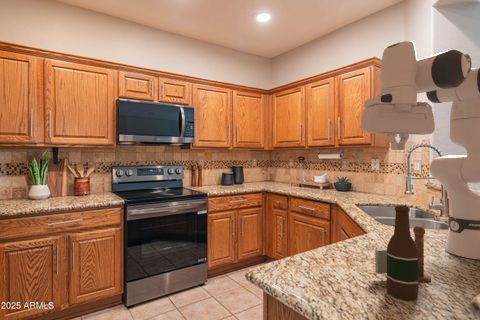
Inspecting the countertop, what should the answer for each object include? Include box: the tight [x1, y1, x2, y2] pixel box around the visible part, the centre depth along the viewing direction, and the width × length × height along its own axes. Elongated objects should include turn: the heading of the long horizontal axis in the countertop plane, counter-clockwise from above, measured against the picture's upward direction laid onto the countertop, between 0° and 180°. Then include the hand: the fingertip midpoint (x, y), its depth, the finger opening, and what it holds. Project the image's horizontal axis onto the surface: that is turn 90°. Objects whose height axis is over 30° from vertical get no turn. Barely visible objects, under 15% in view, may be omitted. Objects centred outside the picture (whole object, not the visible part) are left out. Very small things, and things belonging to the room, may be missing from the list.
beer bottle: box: [386, 204, 419, 302], centre depth 74 cm, size 8×8×24 cm
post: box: [412, 225, 432, 283], centre depth 84 cm, size 6×6×16 cm
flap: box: [374, 248, 387, 274], centre depth 84 cm, size 12×1×7 cm, turn 95°
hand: (397, 149), depth 76 cm, fingers closed
